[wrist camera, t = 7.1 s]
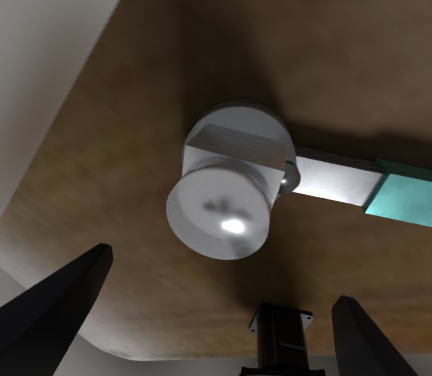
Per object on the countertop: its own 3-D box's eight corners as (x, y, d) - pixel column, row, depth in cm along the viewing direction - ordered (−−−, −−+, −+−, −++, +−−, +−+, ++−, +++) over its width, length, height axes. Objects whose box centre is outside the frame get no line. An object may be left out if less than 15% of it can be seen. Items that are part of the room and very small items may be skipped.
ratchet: (479, 145, 17) (568, 191, 12) (410, 230, 21) (455, 287, 16) (195, 88, 17) (172, 110, 12) (185, 182, 22) (165, 225, 17)
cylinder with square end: (264, 207, 18) (253, 271, 13) (198, 188, 19) (163, 242, 14) (286, 143, 15) (284, 193, 10) (207, 122, 16) (168, 160, 11)
